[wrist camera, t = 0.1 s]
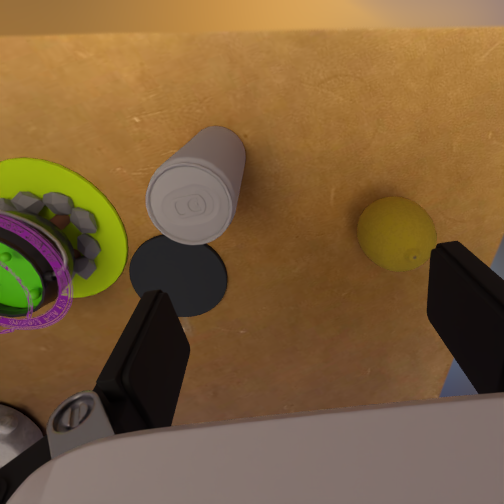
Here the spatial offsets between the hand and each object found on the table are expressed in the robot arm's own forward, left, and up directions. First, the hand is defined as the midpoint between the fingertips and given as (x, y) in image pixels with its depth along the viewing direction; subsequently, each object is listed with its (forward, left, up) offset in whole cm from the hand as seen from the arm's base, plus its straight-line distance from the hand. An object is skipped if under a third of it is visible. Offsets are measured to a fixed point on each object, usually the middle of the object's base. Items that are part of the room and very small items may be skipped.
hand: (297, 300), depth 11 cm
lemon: (+10, +4, -18) cm, 21 cm away
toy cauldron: (-11, -20, -18) cm, 29 cm away
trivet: (+1, -15, -18) cm, 24 cm away
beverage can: (-4, -3, -18) cm, 19 cm away
